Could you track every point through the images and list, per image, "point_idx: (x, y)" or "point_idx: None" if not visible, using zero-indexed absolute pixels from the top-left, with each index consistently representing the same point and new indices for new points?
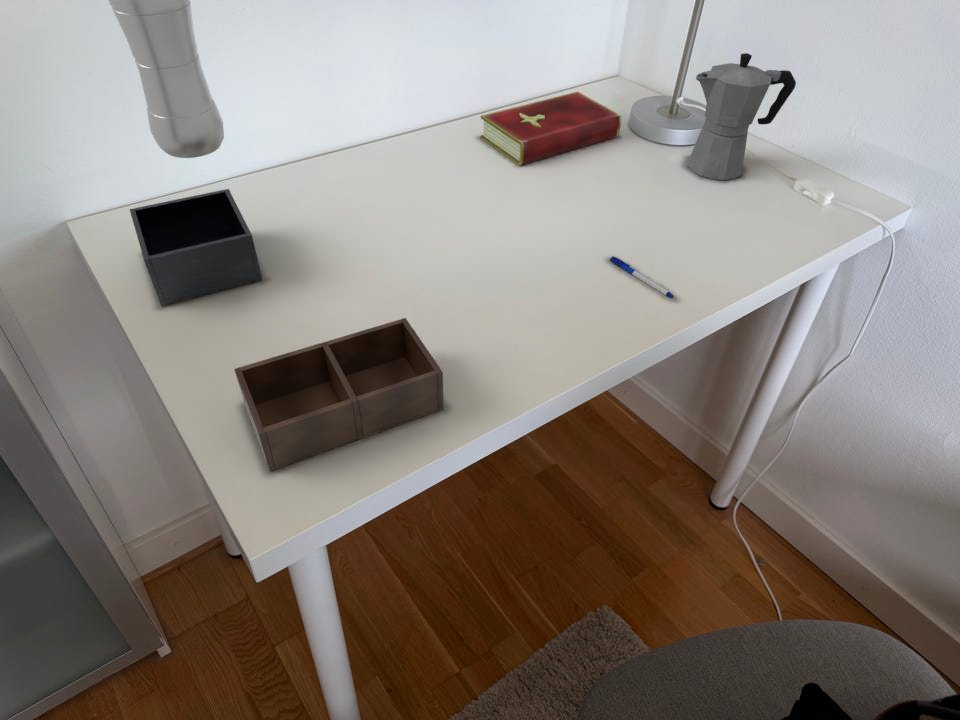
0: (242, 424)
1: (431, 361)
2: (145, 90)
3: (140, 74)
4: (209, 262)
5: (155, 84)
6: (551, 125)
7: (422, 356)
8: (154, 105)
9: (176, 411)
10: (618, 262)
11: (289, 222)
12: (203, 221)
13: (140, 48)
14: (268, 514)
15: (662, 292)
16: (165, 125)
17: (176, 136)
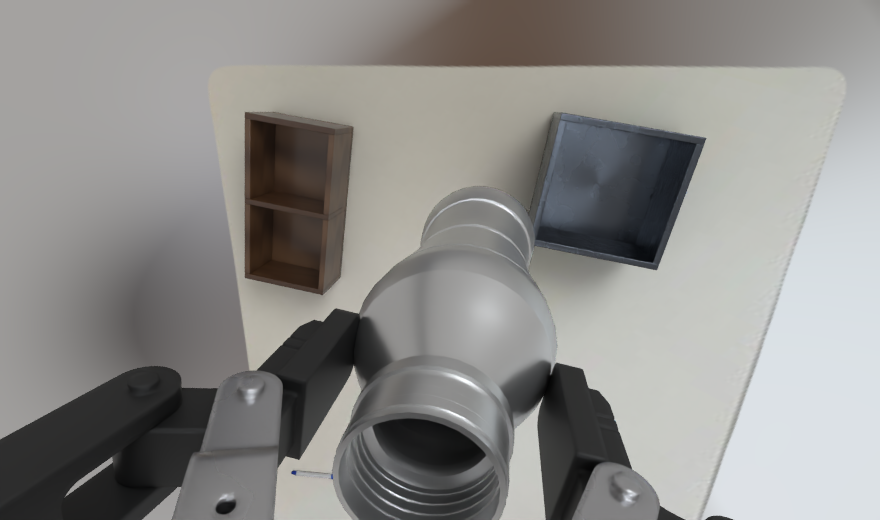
0: (334, 115)
1: (260, 278)
2: (468, 211)
3: (475, 220)
4: (540, 184)
5: (435, 229)
6: None
7: (277, 277)
8: (451, 209)
9: (381, 67)
10: None
11: (615, 304)
12: (653, 217)
13: (428, 242)
14: (234, 91)
15: (300, 471)
16: (440, 207)
17: (431, 212)
